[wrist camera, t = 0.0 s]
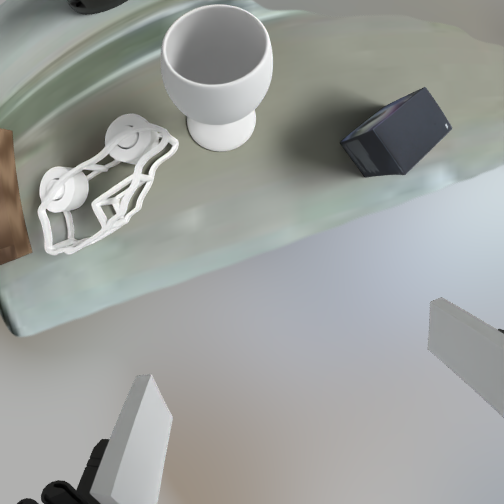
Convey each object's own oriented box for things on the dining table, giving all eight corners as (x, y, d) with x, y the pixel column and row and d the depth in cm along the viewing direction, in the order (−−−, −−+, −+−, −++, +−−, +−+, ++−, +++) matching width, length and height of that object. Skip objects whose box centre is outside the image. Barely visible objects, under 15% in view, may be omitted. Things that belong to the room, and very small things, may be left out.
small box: (385, 102, 36) (426, 83, 25) (410, 138, 37) (455, 129, 27) (336, 141, 36) (372, 126, 26) (365, 179, 38) (406, 177, 28)
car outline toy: (161, 109, 34) (147, 92, 27) (199, 180, 36) (192, 178, 29) (47, 189, 34) (18, 191, 27) (80, 255, 37) (54, 268, 30)
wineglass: (180, 145, 35) (126, 95, 15) (196, 83, 33) (169, -12, 13) (247, 157, 36) (271, 118, 16) (262, 95, 34) (297, 7, 14)
